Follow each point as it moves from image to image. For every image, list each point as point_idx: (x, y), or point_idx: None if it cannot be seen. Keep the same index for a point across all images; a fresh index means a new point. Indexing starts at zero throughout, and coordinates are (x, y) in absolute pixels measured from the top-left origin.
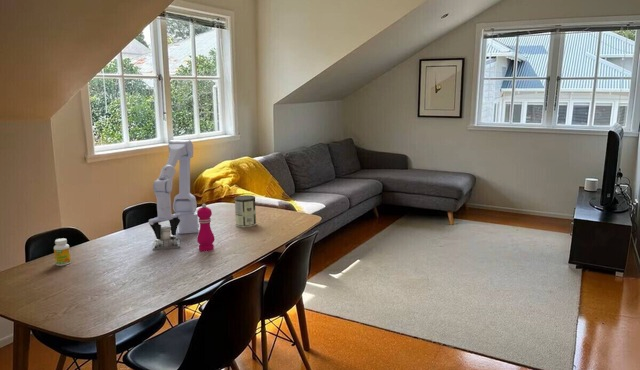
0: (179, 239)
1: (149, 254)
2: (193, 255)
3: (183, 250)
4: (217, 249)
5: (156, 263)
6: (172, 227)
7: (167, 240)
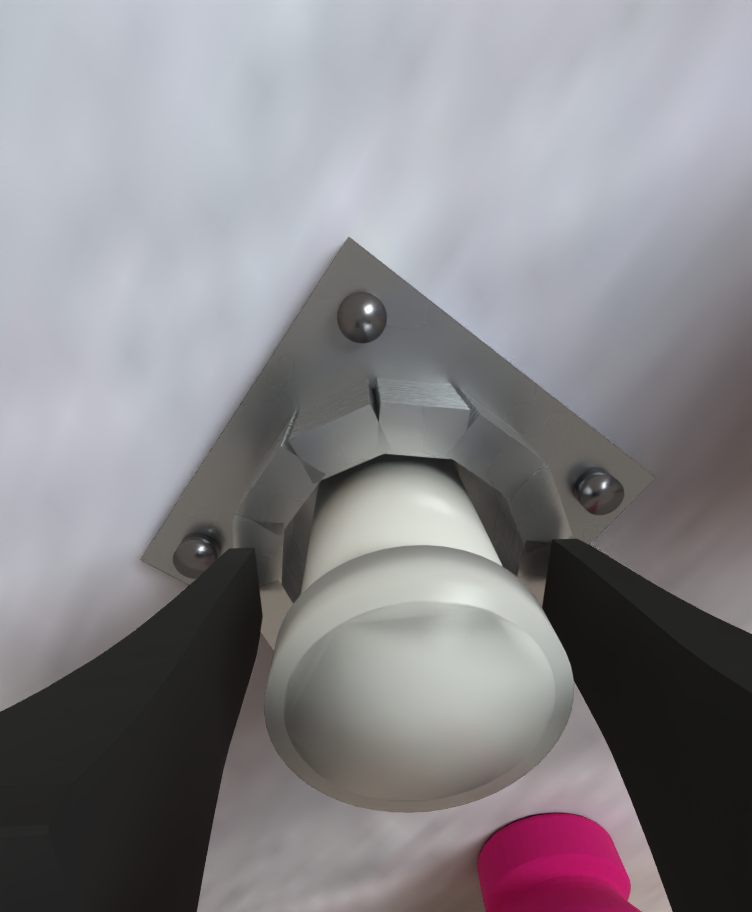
0: (624, 505)
1: (54, 637)
2: (363, 890)
3: None
4: None
5: None
6: (629, 676)
7: None
